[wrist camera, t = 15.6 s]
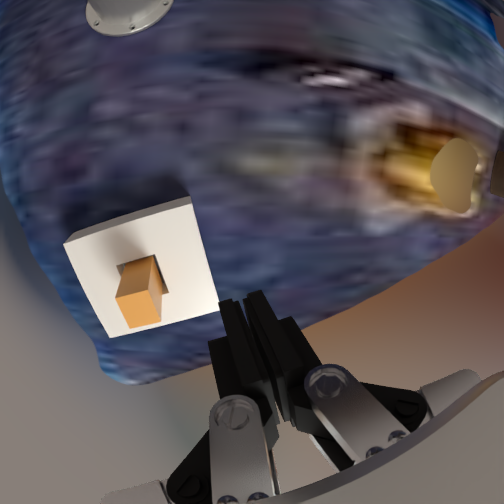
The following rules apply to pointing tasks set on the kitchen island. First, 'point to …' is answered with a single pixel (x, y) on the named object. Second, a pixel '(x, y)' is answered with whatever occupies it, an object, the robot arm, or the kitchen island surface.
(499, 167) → the clothes iron
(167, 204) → the socket block
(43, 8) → the kitchen island surface
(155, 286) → the plug
